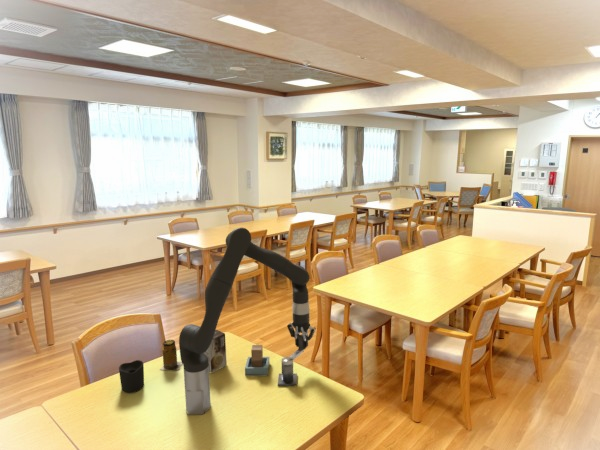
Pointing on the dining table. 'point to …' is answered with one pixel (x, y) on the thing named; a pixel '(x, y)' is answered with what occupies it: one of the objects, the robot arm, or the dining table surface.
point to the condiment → (170, 356)
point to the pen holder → (132, 376)
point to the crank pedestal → (287, 377)
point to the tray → (257, 368)
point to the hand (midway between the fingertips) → (301, 346)
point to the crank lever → (289, 360)
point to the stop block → (257, 355)
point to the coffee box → (217, 352)
